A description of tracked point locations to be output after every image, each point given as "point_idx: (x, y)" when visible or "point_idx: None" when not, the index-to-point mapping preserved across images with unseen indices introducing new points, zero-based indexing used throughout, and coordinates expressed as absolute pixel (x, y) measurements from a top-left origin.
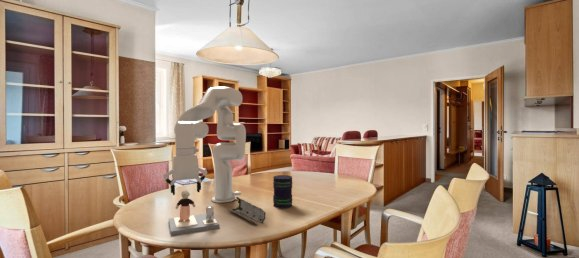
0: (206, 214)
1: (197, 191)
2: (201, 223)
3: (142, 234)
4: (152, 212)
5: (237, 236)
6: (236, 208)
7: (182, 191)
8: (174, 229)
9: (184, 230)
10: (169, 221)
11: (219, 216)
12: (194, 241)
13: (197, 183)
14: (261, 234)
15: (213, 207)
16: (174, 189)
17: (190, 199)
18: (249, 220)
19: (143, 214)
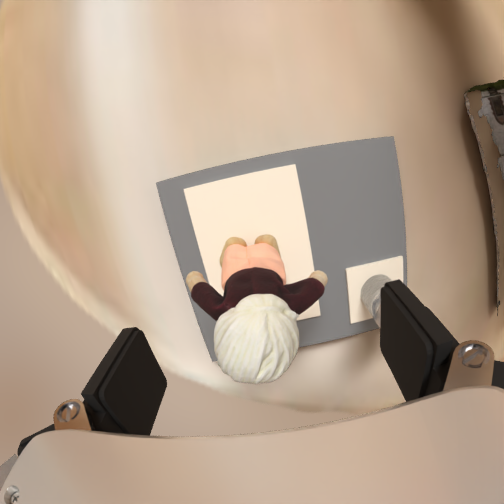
0: (374, 319)
1: (381, 328)
2: (338, 299)
3: (105, 312)
4: (71, 31)
5: None
6: (483, 85)
7: (225, 370)
8: None
9: None
10: (170, 233)
11: (419, 155)
12: (302, 403)
13: (414, 399)
14: None
15: None
16: (151, 420)
17: (299, 309)
18: (497, 278)
19: (43, 61)
